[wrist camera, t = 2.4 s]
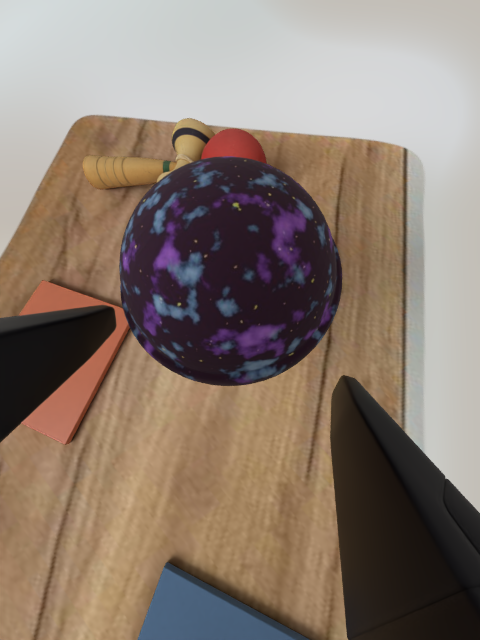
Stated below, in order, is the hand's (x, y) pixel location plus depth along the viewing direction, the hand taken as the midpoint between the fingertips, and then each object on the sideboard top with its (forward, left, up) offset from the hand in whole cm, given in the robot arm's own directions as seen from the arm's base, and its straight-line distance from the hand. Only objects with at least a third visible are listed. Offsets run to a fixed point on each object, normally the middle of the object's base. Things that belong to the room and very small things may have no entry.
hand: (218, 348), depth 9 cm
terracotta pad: (-4, +15, -10) cm, 19 cm away
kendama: (+15, +12, -10) cm, 22 cm away
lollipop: (+2, 0, -10) cm, 10 cm away
